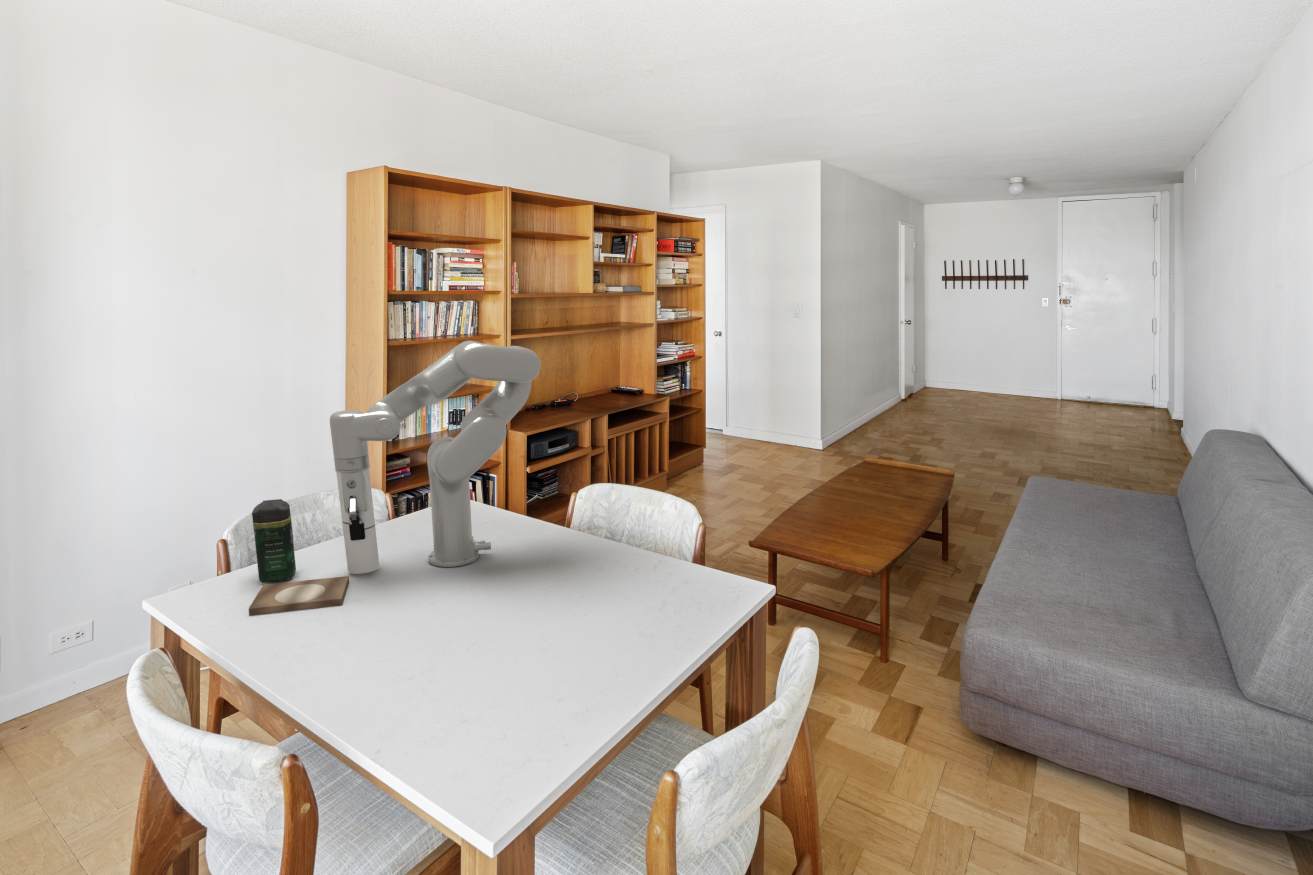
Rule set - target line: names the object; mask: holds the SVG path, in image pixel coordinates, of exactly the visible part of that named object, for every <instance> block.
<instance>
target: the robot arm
mask: <svg viewBox="0 0 1313 875" xmlns="http://www.w3.org/2000/svg"><path fill="white" fill-rule="evenodd" d="M541 367H542V363H541V360H540V358H539V355H538V354H537V353H535V351H533V350H532V349H529V348H526V347H523V346H519V345H510V346H503V345H496V344H495V345H494V344H488V343H483V342H479V341H476V340H475V341H474V340H465V341H462V342H461V343H459V344H458V345H456V346H455V347H453V348H452V349H451V350H449V351H448V352H447V353H445V354H444V355H442V356H441V357H440V358H438V359H437V360H436V361H435V362H433V363H432V364H430V365H429V366H427V367H426V368H425V369H423V370H422V371H421V372H419V373H418V374H416V375H414V376H412V377H411V378H410V379H409V380H407V381H406V382H405V383H403V384H401V385H399V386H398V387H396V388H395V389H394V390H392V391H390V392H389V393H388V394H386V395H385V396H384V397H382V398H381V399H379V400H378V401H377V402H376V403H374V404H373V405H372V406H371V407H369V408H368V409H367V411H366V412H361V411H360V410H357V409H356V410H354V409H353V410H351V409H350V410H349V409H347V410H341V411H336V412H333V413H332V414H330V416H329V427H330V435H331V436H330V437H331V444H332V450H333V451H332V452H333V463H334V470H335V473H336V472H339V473H341V480H342V490H343V499H344V506H345V511H346V512H347V513H349V530H350V539H351V540H352V541H354V540H363V539H365V529H364V523H362V511H365V512H366V511H367V510H368V509H369V507H368V498H367V489H366V482H365V477H364V473H363V471H364V470H367V469H369V470H370V467H371V466H370V457H369V456H370V455H369V448H368V447H369V445H368V442H369V441H370V442H387V441H392V440H393V439H395V438H396V437H397V436H398V435H399V433H400V431H401V428H402V427H401V426H402V424H401V423H402V422H403V421H405V420H406V419H407V418H409V417H411V416H412V415H413V414H414V413H416V412H418V411H420V410H422V409H424V408H426V407H428V406H433V405H436V404H439V403H441V402H443V401H445V400H446V399H448V397H450V396H451V395H453V394H454V393H455V392H456V391H457V390H459V389H460V388H461V387H463V386H464V385H466V384H467V383H468V382H470V381H471V380H472V379H477V380H484V381H491V382H497V384H496V385H495V386H494V387H493V388H492V390H491V391H490V392H489V393H488V394H486V396H485V397H484V398H483V399H481V401H480V402H479V403H478V404H476V406H475V407H473V408H472V409H471V410H470V411H468V412H467V413H466V415H464V417H463V419H462V420H461V423H460V430H461V431H460V432H459V433H458V434H457V435H456V436H454V437H451V436H442V437H439V438H438V439H436V440H434V441H433V442H432V443H431V444H430V446H429V448H428V450H427V455H426V463H427V471H428V479H429V480H428V481H429V490H430V505H431V508H430V509H431V521H432V536H433V537H432V539H433V550H432V551H431V552H430V553H429V554H428V556H427V558H428V559H427V561H428V563H429V564H431V565H433V566H435V567H441V568H442V567H443V568H450V567H451V568H453V567H459V566H464V565H465V566H466V565H468V564H472V563H473V562H475V561H476V560H478V558H479V557H480V551H489V550H490V551H492V543H491V541H488V542H486V540H478V541H477V540H474V536H473V529H472V528H473V527H472V509H471V488H470V477H472V476H473V475H474V474H475V473H476V472H477V471H478V470H479V469H480V468H481V467H482V466H483V465H485V463H486V462H488V460H490V458H492V457H493V455H495V454H496V453H497V452H498V450H500V448H501V447H502V446H503V444H504V442H505V440H506V438H507V425H508V423H509V422H510V421H511V420H512V419H513V418H514V417H515V416H516V415H517V414H518V413H519V411H521V410H522V408H523V407H524V405H525V404H526V402H528V399H529V396H530V394H531V389H532V381H533V380H535V379H536V378H537V377H538V375H539V374H540V372H541ZM351 483H352V484H351ZM356 500H357V504H358V506H359V508H360V510H357V511H356ZM349 505H350V506H349ZM347 508H349V510H348V509H347ZM357 514H359V516H358V515H357Z"/></svg>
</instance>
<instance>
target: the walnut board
mask: <svg viewBox="0 0 1313 875" xmlns="http://www.w3.org/2000/svg"><path fill="white" fill-rule="evenodd" d="M349 583H350V576H349V575H344V576H335V577H326V578H324V577H323V578H318V579H317V578H316V579H315V578H314V579H306V580H305V579H304V580H298V581H297V580H295V581H286V582H285V581H284V582H279V583H266V584H262V586H261V587H260V589H259V591H258V592H257V594H256V596H255V597H254V600H252V602H251V604H250V605H249V607H248V616H256V615H257V616H258V615H267V614H274V613H275V614H276V613H284V612H291V611H292V612H294V611H302V610H309V609H319V608H325V607H335V606H342V605H343V603H344V600H345V596H346V594H347V593H346V592H347V589H348V587H349Z"/></svg>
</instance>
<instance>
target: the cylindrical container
mask: <svg viewBox="0 0 1313 875" xmlns="http://www.w3.org/2000/svg"><path fill="white" fill-rule="evenodd" d="M335 473H336V481H337V489H338V497H339V498H338V499H339V505H340V514H341V524H342V531H343V539H344V549H345V557H346V566H347V572H348V573H350V574H354V575H359V574H360V575H361V574H366V573H370V572H374V571H376V570H377V569H379V567H380V560H379V559H380V558H379V548H378V541H377V540H378V539H377V530H376V529H377V528H376V520H375V511H374V504H373V492H372V484H371V475H370V468H369V469H367V470H364V471H363V473H364V477H365V482H366V489H367V498H368V507H369V509H368V510H367V511H366V512H365V511H362V523H364V529H365V539H363V540H354V541H352V540H351V539H350V530H349V513H347V512H346V511H345V506H344V499H343V490H342V480H341V473H339V472H336V471H335ZM351 484H352V483H351ZM349 506H350V505H349ZM347 509H348V510H349V508H347ZM357 510H360V508H359V506H358V504H357V500H356V511H357ZM357 515H358V516H359V514H357Z"/></svg>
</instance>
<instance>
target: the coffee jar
mask: <svg viewBox="0 0 1313 875" xmlns="http://www.w3.org/2000/svg"><path fill="white" fill-rule="evenodd" d="M251 517H252V527H253V534H254V536H253V537H254V544H255V551H256V553H255V554H256V563H257V575H258V579H259V582H260V583H262V584H263V583H266V584H275V583H283V582H285V581H288V580H291V579H293V578H294V576H295V575H296V572H297V571H296V570H297V565H296V555H295V544H294V535H293V534H294V533H293V524H292V522H293V521H292V514H291V508H290V504H289V502H287V501H285V500H283V499H282V498H281V499H280V498H278V499H267V500H263V501H261V502H260V503H259V504H257V505H256V506H254V508H253V510H252V513H251Z"/></svg>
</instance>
